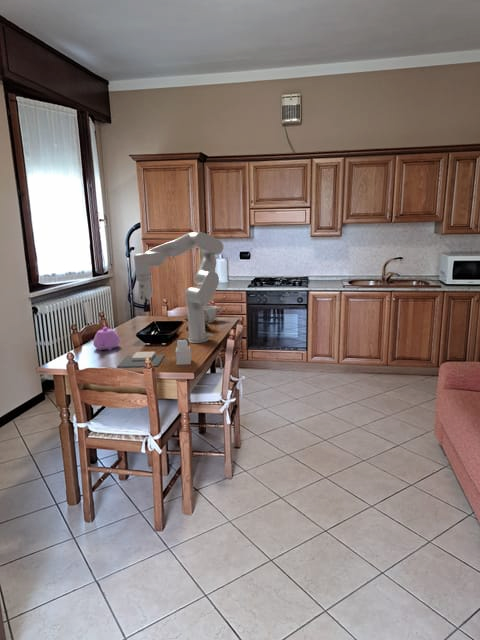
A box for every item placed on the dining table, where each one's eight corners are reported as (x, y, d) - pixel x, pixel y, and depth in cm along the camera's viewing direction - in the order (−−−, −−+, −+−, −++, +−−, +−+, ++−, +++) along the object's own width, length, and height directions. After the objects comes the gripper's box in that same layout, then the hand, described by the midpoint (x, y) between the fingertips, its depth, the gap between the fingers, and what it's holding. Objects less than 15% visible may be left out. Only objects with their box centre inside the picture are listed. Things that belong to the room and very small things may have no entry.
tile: (155, 351, 233) (151, 357, 223) (155, 354, 233) (151, 360, 223) (136, 351, 233) (131, 357, 223) (136, 354, 234) (131, 360, 224)
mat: (164, 355, 232) (164, 354, 232) (157, 366, 215) (157, 365, 215) (126, 356, 233) (126, 355, 232) (117, 367, 216) (117, 366, 216)
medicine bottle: (177, 360, 223) (175, 337, 221) (191, 359, 224) (189, 337, 221) (176, 365, 216) (174, 341, 214) (190, 364, 217) (189, 340, 214)
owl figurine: (180, 331, 283) (179, 304, 279) (190, 327, 293) (188, 301, 290) (205, 333, 275) (203, 306, 272) (214, 328, 286) (213, 302, 282)
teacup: (221, 323, 300) (221, 308, 297) (199, 323, 300) (199, 309, 298) (222, 319, 311) (222, 305, 309) (201, 319, 312) (200, 305, 309)
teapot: (111, 354, 238) (109, 332, 236) (86, 354, 240) (83, 332, 238) (125, 343, 258) (123, 323, 255) (102, 343, 260) (99, 323, 257)
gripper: (147, 279, 223) (151, 314, 228) (153, 274, 238) (157, 308, 242) (132, 279, 224) (136, 315, 228) (139, 275, 238) (143, 308, 243)
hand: (147, 311), depth 235 cm, fingers closed
